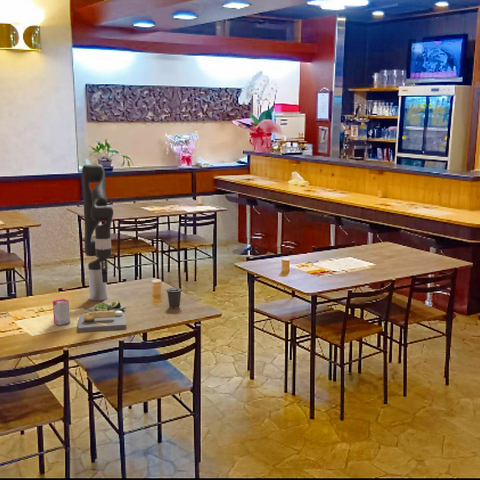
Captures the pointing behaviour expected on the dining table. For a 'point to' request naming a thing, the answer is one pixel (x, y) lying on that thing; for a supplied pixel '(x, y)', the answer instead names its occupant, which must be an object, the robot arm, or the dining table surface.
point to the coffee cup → (174, 297)
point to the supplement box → (61, 312)
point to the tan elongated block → (98, 315)
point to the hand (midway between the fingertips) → (104, 281)
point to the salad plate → (107, 307)
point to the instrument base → (103, 323)
